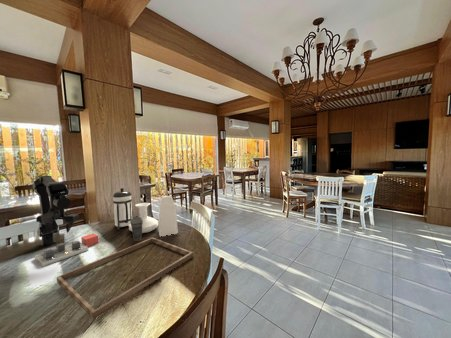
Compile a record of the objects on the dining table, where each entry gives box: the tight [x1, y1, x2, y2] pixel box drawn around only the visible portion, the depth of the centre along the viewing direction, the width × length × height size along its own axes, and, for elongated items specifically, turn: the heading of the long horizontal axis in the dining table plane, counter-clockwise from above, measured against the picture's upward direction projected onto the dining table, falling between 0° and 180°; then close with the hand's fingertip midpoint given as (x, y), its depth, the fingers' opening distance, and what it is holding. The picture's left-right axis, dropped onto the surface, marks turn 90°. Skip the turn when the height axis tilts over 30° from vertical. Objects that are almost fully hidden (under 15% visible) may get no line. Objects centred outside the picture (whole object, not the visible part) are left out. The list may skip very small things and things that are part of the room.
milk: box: [157, 195, 179, 238], centre depth 138 cm, size 12×12×26 cm
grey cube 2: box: [55, 242, 66, 251], centre depth 109 cm, size 3×3×3 cm
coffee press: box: [112, 187, 133, 231], centre depth 149 cm, size 17×16×30 cm
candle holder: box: [128, 202, 159, 234], centre depth 142 cm, size 20×20×19 cm
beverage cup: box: [131, 209, 143, 242], centre depth 126 cm, size 7×7×20 cm
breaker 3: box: [71, 240, 81, 249], centre depth 112 cm, size 3×3×3 cm
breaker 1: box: [43, 248, 54, 258], centre depth 102 cm, size 3×3×3 cm
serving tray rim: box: [56, 236, 194, 320], centre depth 94 cm, size 35×48×2 cm
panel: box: [34, 242, 89, 268], centre depth 108 cm, size 13×20×2 cm, turn 146°
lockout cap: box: [80, 233, 99, 248], centre depth 121 cm, size 7×7×5 cm
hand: (59, 232), depth 109 cm, fingers open, 9 cm apart
